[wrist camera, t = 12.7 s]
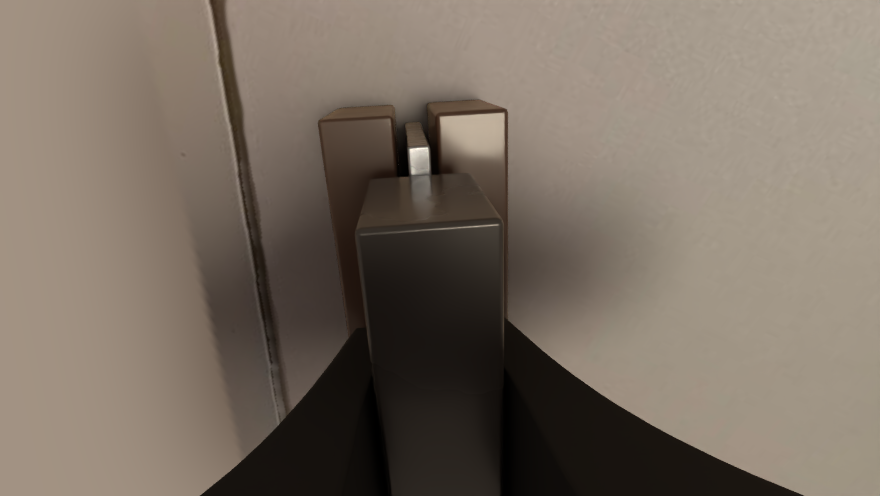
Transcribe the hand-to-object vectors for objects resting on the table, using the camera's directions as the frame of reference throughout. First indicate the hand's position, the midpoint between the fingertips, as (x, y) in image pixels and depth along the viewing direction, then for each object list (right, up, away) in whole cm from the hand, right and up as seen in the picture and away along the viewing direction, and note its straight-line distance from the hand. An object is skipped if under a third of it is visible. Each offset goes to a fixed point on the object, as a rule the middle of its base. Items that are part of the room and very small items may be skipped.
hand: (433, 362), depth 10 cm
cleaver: (0, +1, +4) cm, 4 cm away
